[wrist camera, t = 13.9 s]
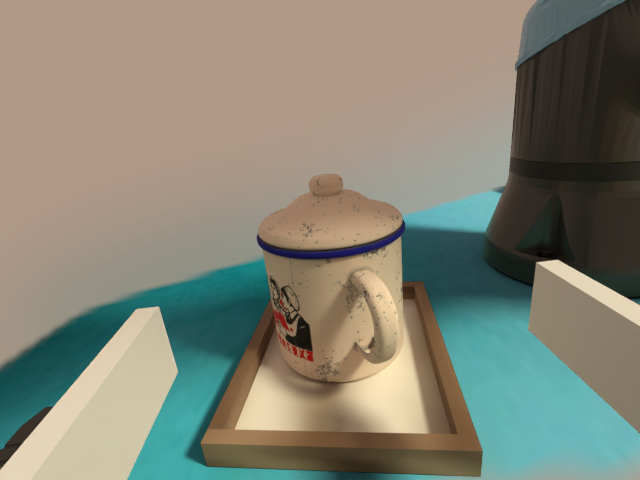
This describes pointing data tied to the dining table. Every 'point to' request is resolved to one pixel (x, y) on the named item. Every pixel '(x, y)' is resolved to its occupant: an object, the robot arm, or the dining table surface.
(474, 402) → the dining table surface
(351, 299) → the teacup with lid
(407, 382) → the walnut tray
